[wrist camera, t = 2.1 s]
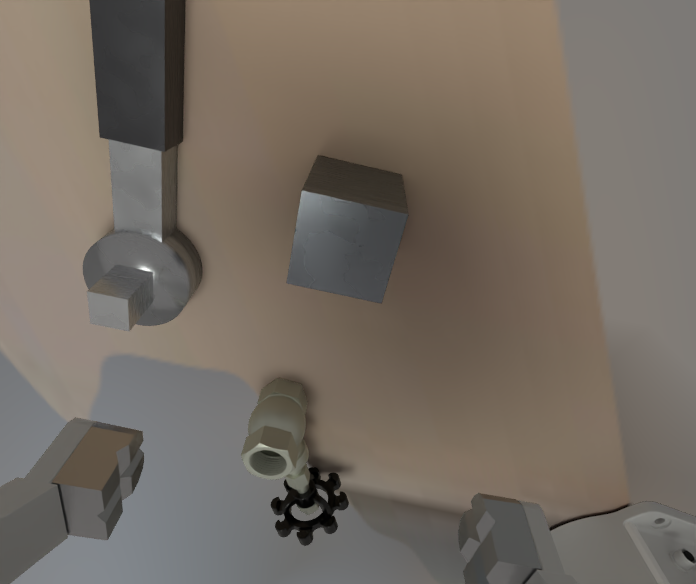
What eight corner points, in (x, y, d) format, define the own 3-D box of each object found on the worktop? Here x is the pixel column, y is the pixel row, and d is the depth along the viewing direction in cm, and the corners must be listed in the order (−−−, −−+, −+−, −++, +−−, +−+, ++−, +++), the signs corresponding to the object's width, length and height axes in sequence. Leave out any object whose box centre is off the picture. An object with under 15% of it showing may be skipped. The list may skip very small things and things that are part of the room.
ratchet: (216, -17, 22) (166, -30, 16) (200, 311, 32) (166, 366, 27) (83, -51, 21) (-11, -75, 16) (109, 292, 31) (57, 344, 26)
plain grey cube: (401, 174, 26) (408, 214, 20) (380, 250, 28) (381, 303, 23) (317, 155, 26) (301, 190, 20) (304, 233, 28) (286, 283, 23)
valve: (237, 379, 35) (281, 476, 41) (211, 447, 30) (265, 548, 35) (318, 369, 34) (350, 470, 40) (306, 437, 28) (346, 543, 34)
